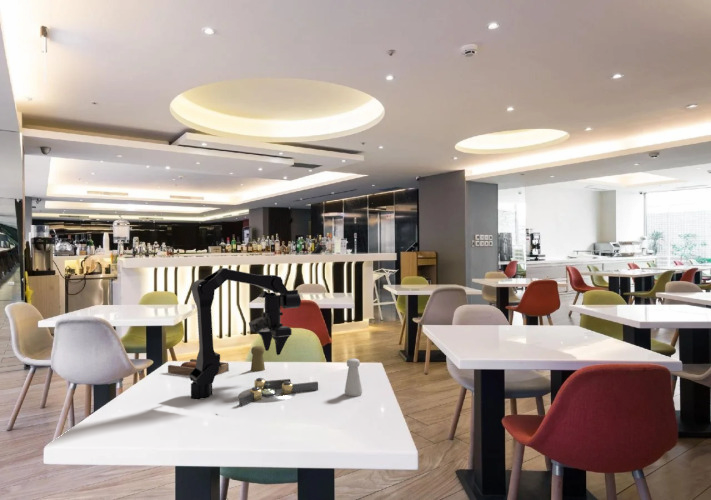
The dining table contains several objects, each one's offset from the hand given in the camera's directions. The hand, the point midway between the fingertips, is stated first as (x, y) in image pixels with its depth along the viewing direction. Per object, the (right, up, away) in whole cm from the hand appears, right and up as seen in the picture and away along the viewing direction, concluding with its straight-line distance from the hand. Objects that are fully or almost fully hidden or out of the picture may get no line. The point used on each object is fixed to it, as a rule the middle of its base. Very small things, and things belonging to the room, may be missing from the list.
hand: (272, 352), depth 166 cm
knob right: (+11, -11, -11) cm, 19 cm away
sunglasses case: (-34, -14, +26) cm, 45 cm away
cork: (-10, -13, +20) cm, 26 cm away
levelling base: (0, -12, -15) cm, 19 cm away
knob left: (+1, -11, -7) cm, 13 cm away
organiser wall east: (-33, -13, +30) cm, 46 cm away
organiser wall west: (-38, -13, +19) cm, 44 cm away
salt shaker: (+29, -12, -14) cm, 35 cm away
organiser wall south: (-26, -13, +20) cm, 35 cm away
